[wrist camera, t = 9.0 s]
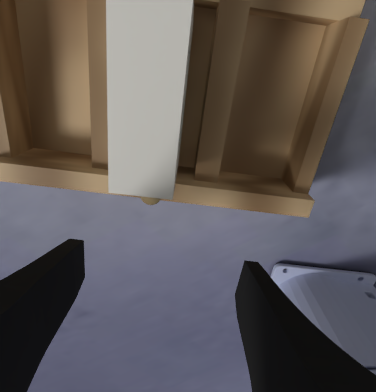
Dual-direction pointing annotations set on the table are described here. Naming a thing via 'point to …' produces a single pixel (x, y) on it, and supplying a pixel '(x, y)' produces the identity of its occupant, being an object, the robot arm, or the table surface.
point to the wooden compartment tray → (194, 103)
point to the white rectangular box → (146, 93)
